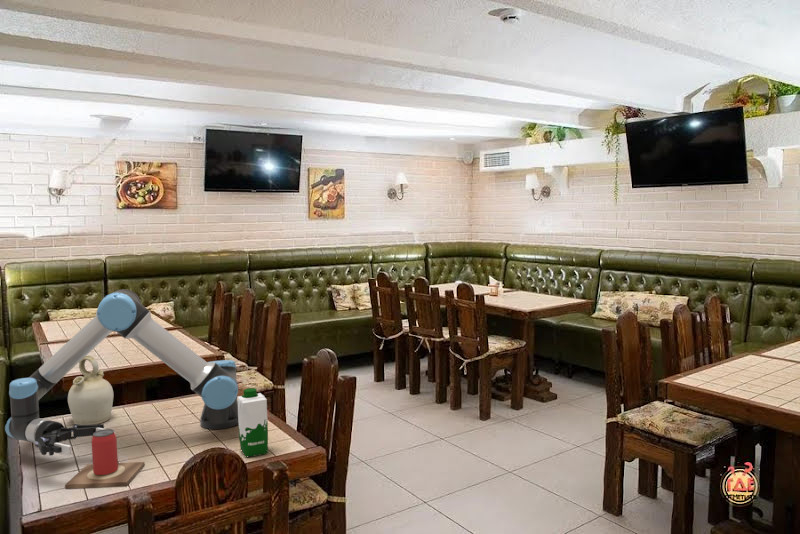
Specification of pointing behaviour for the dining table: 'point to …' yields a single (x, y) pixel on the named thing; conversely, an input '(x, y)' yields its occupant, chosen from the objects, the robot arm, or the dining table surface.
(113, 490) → the dining table surface
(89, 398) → the jug
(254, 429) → the milk carton
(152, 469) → the dining table surface
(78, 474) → the serving board
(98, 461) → the beer can
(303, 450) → the dining table surface
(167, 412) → the dining table surface
